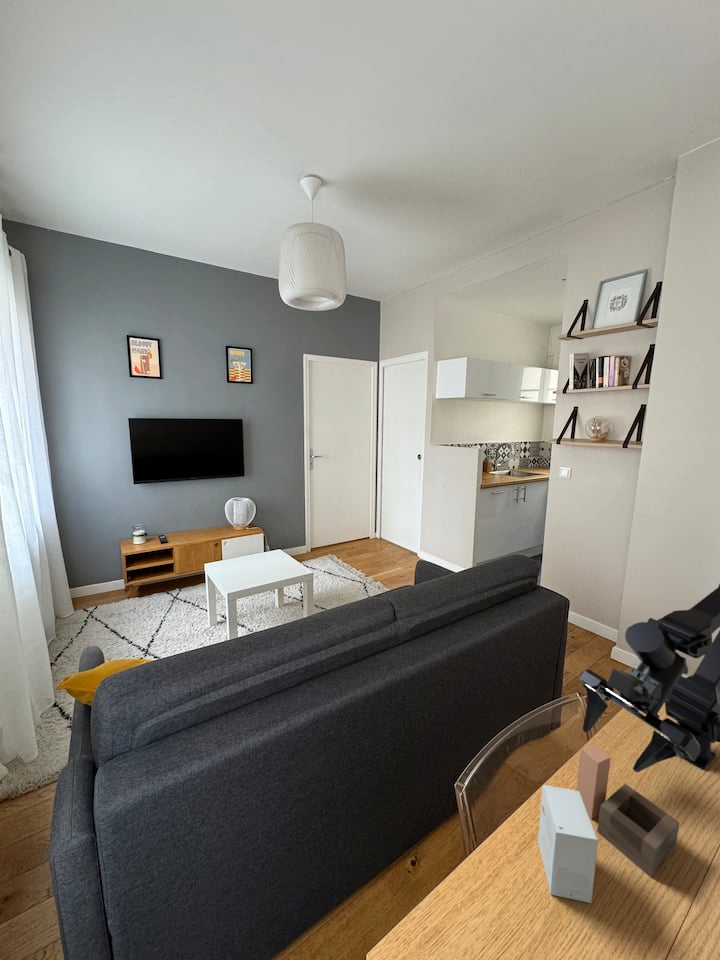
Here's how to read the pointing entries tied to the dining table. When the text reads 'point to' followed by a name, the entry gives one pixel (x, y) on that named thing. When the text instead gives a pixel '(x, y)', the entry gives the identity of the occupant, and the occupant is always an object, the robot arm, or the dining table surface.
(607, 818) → the socket block
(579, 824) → the small box
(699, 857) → the dining table surface
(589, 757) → the peg
